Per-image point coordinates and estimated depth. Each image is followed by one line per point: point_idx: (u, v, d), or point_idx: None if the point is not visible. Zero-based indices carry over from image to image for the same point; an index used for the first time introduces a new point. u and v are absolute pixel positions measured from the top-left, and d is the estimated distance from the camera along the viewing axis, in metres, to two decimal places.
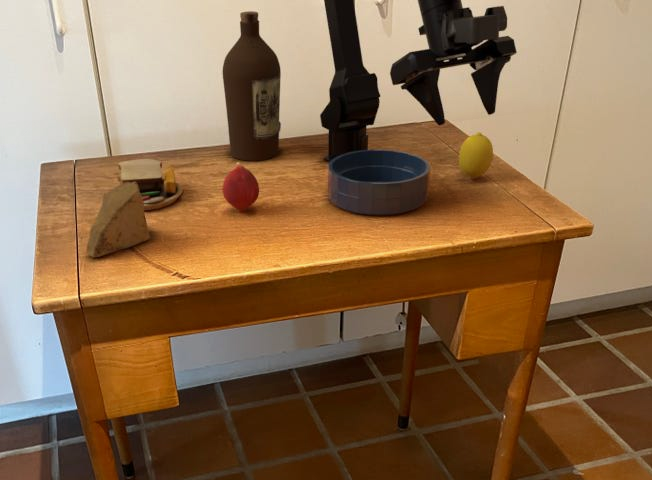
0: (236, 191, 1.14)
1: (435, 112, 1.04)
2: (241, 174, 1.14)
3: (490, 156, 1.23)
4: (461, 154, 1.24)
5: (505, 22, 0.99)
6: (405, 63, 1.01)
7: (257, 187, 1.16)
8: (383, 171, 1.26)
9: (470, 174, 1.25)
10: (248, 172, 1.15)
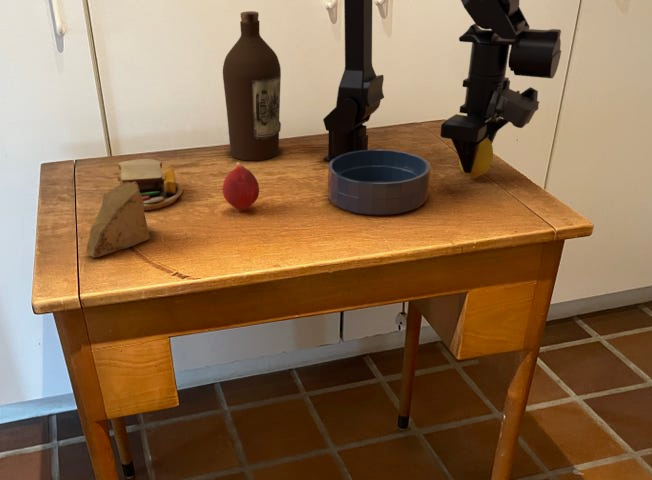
0: (236, 191, 1.14)
1: (467, 163, 1.22)
2: (241, 174, 1.14)
3: (490, 156, 1.23)
4: None
5: (537, 109, 1.18)
6: (465, 131, 1.14)
7: (257, 187, 1.16)
8: (383, 171, 1.26)
9: (470, 174, 1.25)
10: (248, 172, 1.15)
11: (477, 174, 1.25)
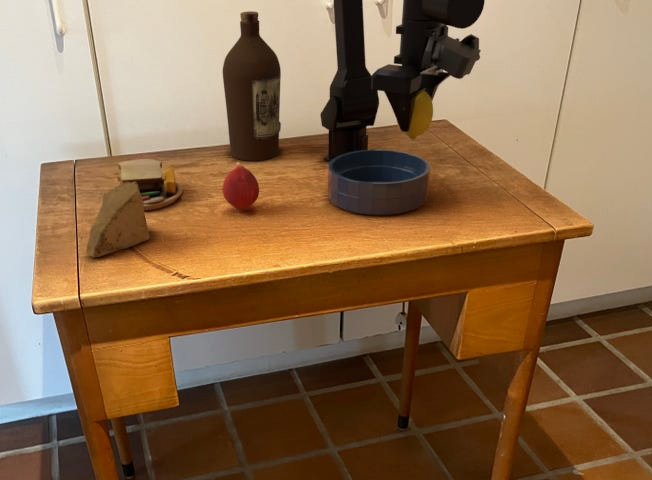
0: (236, 191, 1.14)
1: (404, 120, 1.11)
2: (241, 174, 1.14)
3: (429, 113, 1.11)
4: None
5: (479, 58, 1.06)
6: (397, 81, 1.02)
7: (257, 187, 1.16)
8: (383, 171, 1.26)
9: (408, 133, 1.13)
10: (248, 172, 1.15)
11: (416, 133, 1.13)
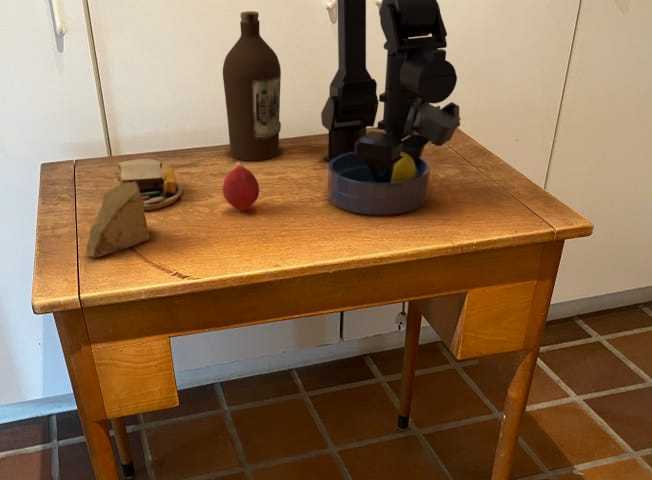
0: (236, 191, 1.14)
1: None
2: (241, 174, 1.14)
3: (412, 175, 1.15)
4: None
5: (459, 125, 1.11)
6: (379, 149, 1.07)
7: (257, 187, 1.16)
8: None
9: None
10: (248, 172, 1.15)
11: None
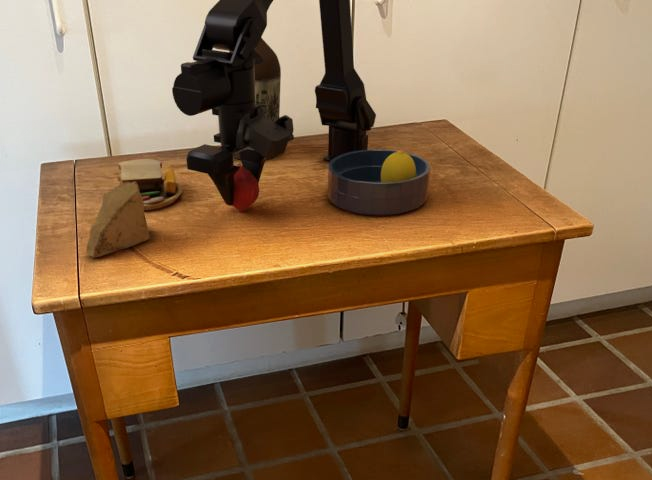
0: (236, 191, 1.14)
1: (226, 195, 1.14)
2: (241, 174, 1.14)
3: (412, 175, 1.15)
4: (382, 173, 1.17)
5: (292, 138, 1.10)
6: (206, 163, 1.06)
7: (257, 187, 1.16)
8: None
9: None
10: (248, 172, 1.15)
11: None
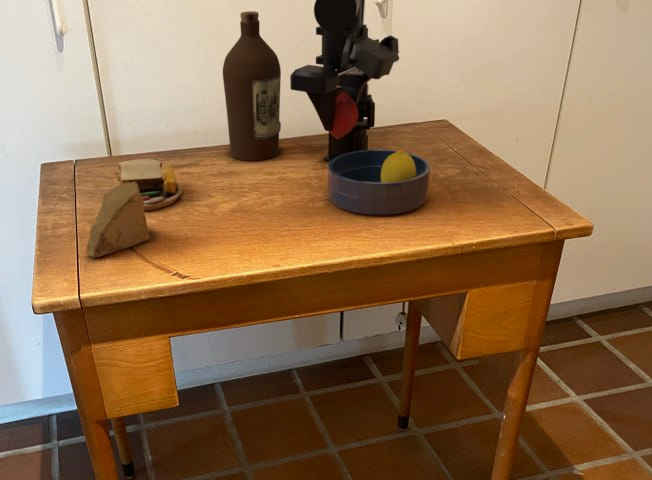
0: (336, 116, 1.12)
1: (326, 120, 1.13)
2: (341, 98, 1.12)
3: (412, 175, 1.15)
4: (382, 173, 1.17)
5: (398, 59, 1.08)
6: (313, 82, 1.04)
7: (357, 112, 1.14)
8: None
9: None
10: (348, 96, 1.13)
11: None
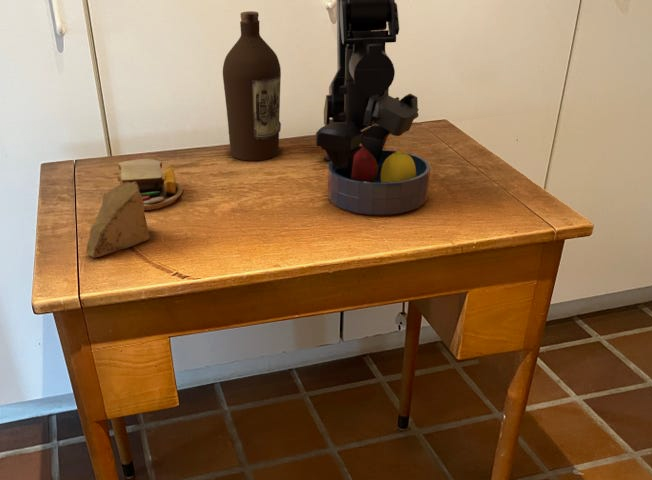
0: (357, 171, 1.18)
1: (344, 175, 1.17)
2: (362, 155, 1.18)
3: (412, 175, 1.15)
4: (382, 173, 1.17)
5: (417, 116, 1.14)
6: (338, 139, 1.10)
7: (376, 167, 1.20)
8: None
9: None
10: (369, 152, 1.19)
11: None
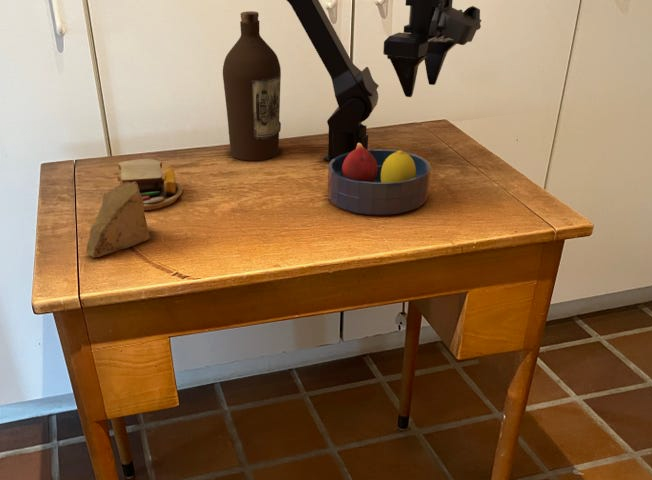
0: (357, 171, 1.18)
1: (408, 86, 1.22)
2: (362, 155, 1.18)
3: (412, 175, 1.15)
4: (382, 173, 1.17)
5: (479, 27, 1.19)
6: (407, 46, 1.15)
7: (376, 167, 1.20)
8: None
9: None
10: (369, 152, 1.19)
11: None
